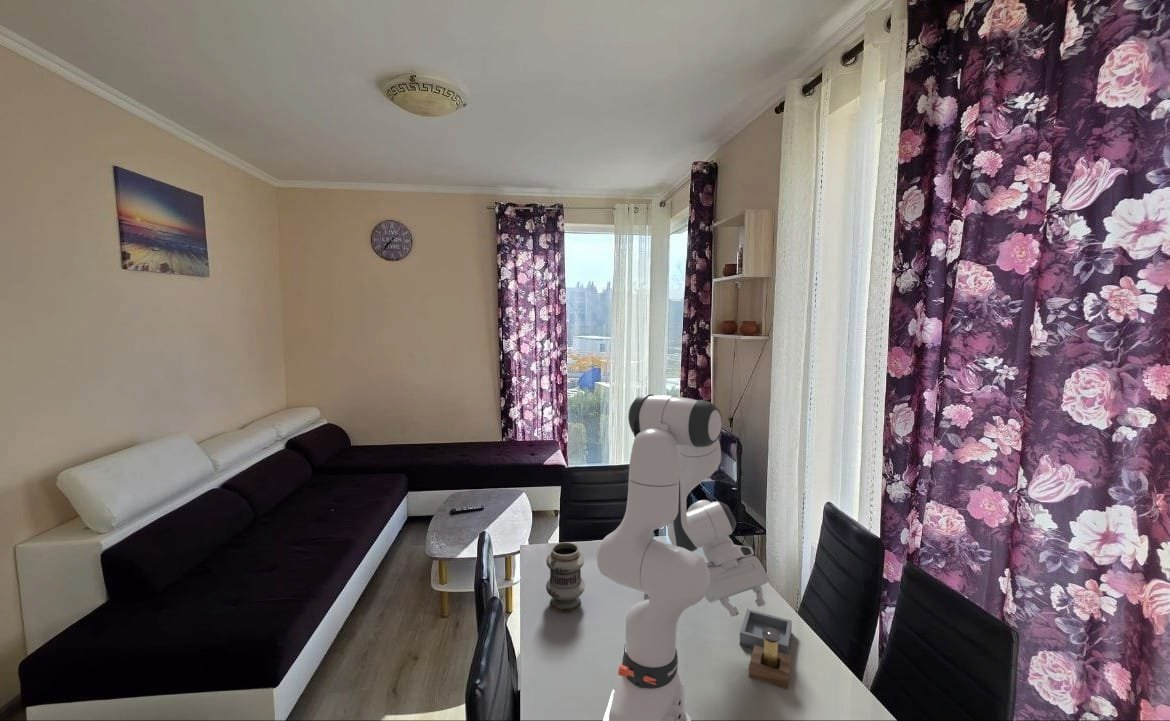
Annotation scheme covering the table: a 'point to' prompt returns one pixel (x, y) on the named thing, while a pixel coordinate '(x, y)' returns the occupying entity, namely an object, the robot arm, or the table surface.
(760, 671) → the socket block
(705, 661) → the table surface
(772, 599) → the table surface
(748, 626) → the pin tray
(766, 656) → the lock pin
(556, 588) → the apothecary jar
